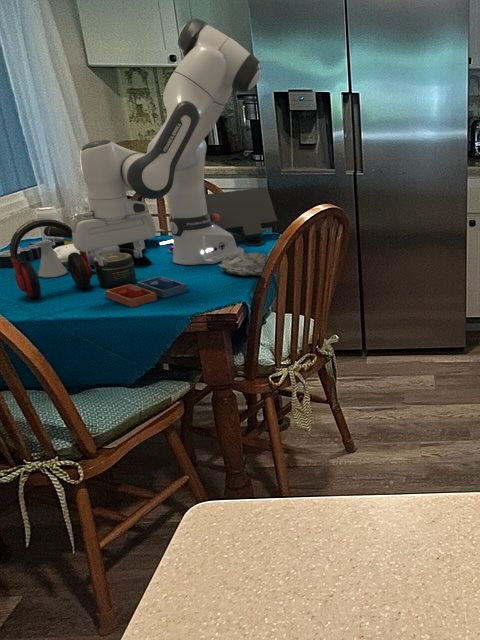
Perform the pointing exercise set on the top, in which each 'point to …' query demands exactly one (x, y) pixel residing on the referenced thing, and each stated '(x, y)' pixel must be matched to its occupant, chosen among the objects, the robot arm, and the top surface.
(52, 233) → the flashlight
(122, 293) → the red paddle shape
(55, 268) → the flask
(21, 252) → the logo
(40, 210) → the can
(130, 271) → the jar
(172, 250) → the building blocks
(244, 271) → the rock
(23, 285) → the headphones
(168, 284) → the navy paddle shape
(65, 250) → the binoculars
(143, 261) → the smartphone
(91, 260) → the round bodied animal figurine
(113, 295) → the terracotta tray
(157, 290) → the blue tray
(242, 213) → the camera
